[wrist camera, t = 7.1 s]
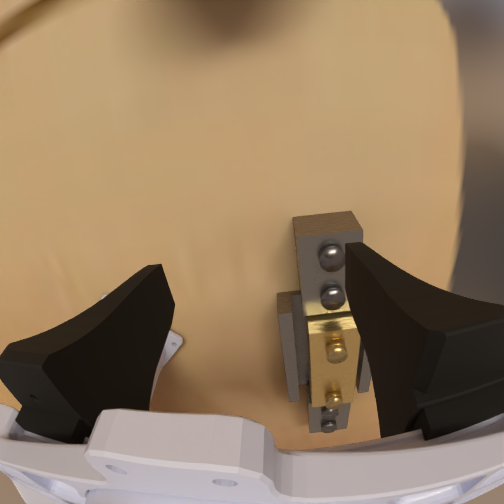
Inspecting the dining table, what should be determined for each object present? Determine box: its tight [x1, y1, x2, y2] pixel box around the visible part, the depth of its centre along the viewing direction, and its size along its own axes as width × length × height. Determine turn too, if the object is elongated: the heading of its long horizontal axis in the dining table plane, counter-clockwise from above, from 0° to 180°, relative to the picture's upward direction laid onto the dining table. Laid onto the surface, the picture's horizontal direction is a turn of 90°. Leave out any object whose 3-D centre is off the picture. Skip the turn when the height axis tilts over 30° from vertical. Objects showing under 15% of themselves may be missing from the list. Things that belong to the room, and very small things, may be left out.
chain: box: [277, 211, 371, 433], centre depth 25 cm, size 23×8×4 cm, turn 9°
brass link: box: [305, 310, 360, 410], centre depth 23 cm, size 9×4×5 cm, turn 9°
